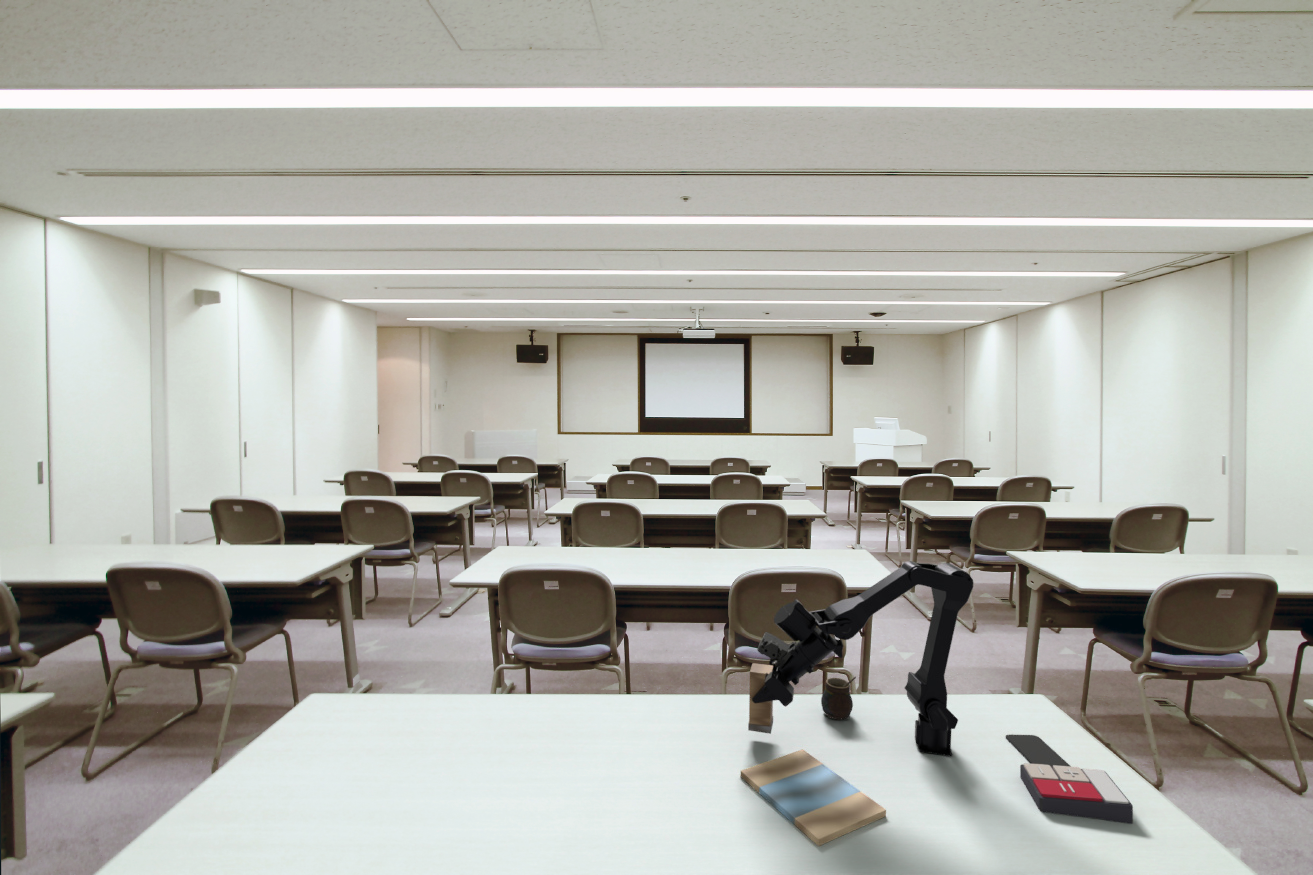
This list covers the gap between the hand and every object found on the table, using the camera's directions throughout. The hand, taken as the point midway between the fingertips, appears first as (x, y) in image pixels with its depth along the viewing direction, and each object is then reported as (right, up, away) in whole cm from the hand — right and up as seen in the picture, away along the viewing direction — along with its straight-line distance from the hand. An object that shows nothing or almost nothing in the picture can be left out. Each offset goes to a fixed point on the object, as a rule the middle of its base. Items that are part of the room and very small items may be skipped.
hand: (754, 696), depth 139 cm
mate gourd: (+21, -9, +11) cm, 26 cm away
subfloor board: (+7, -11, -19) cm, 23 cm away
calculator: (+57, -12, -19) cm, 61 cm away
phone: (+59, -11, -5) cm, 60 cm away
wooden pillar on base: (+1, -7, 0) cm, 7 cm away
